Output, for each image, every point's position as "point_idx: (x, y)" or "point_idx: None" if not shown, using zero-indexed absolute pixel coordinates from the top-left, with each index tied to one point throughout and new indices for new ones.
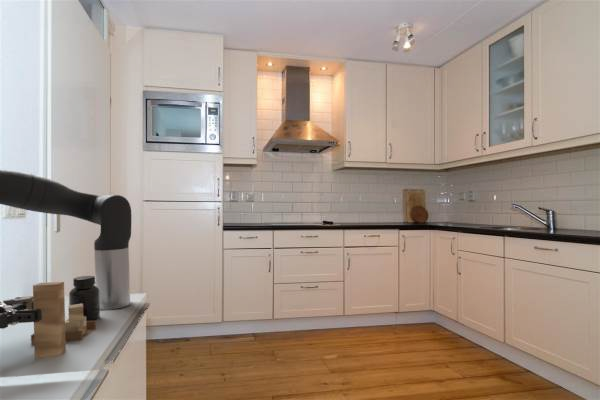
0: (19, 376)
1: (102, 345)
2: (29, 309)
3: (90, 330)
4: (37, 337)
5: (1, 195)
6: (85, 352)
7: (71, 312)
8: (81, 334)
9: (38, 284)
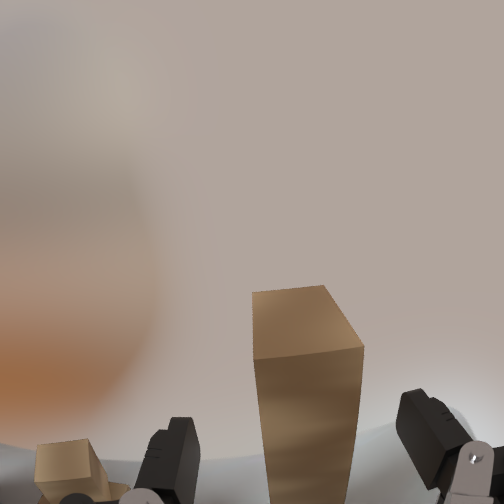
0: None
1: (199, 466)
2: (426, 419)
3: None
4: None
5: None
6: (247, 486)
7: (97, 481)
8: None
9: (323, 339)
